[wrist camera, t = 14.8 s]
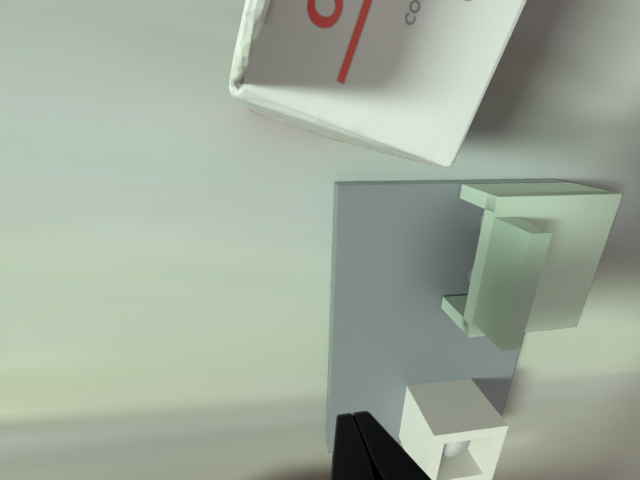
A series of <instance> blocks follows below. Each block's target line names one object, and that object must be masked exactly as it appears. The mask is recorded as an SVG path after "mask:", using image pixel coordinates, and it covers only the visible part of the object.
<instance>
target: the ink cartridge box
mask: <svg viewBox="0 0 640 480" xmlns="http://www.w3.org/2000/svg"><path fill="white" fill-rule="evenodd" d="M526 1H527V0H246V1H245V6H244V11H243V15H242V20H241V24H240V29H239V34H238V38H237V43H236V47H235V52H234V58H233V63H232V68H231V74H230V85H229V89H230V92H231V95H232V96H233V97H234V98H235V99H236V100H237V101H238V102H239V103H241V104H242V105H243V106H244V107H245V108H247V109H248V110H250V111H252V112H255V113H258V114H260V115H263V116H266V117H268V118H271V119H274V120H276V121H279V122H282V123H285V124H288V125H290V126H293V127H296V128H299V129H302V130H305V131H308V132H311V133H314V134H317V135H321V136H324V137H327V138H331V139H334V140H338V141H341V142H345V143H348V144H352V145H356V146H360V147H363V148H367V149H371V150H374V151H378V152H382V153H385V154H389V155H392V156H397V157H401V158H405V159H409V160H413V161H418V162H422V163H426V164H430V165H435V166H440V167H445V168H447V167H450V166H452V164H453V163H454V161H455V159H456V157H457V154H458V152H459V150H460V148H461V145H462V143H463V141H464V139H465V136H466V134H467V132H468V130H469V127H470V125H471V123H472V121H473V118H474V116H475V114H476V112H477V110H478V107H479V105H480V103H481V101H482V98H483V96H484V94H485V92H486V90H487V87H488V85H489V83H490V81H491V79H492V76H493V74H494V72H495V70H496V68H497V65H498V63H499V61H500V59H501V57H502V55H503V52H504V50H505V48H506V46H507V44H508V41H509V39H510V37H511V35H512V33H513V30H514V28H515V26H516V24H517V22H518V19H519V17H520V15H521V13H522V10H523V8H524V6H525V4H526Z"/></svg>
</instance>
